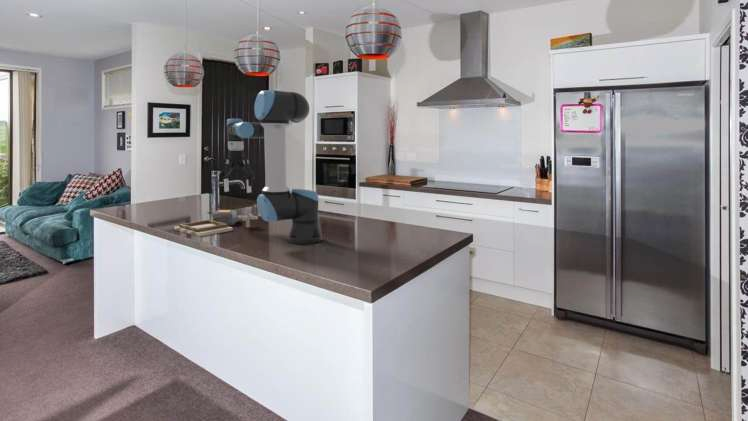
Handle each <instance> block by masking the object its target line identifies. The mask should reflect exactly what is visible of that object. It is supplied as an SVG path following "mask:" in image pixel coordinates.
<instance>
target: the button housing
mask: <svg viewBox="0 0 748 421" xmlns="http://www.w3.org/2000/svg"><path fill="white" fill-rule="evenodd" d="M220 210H221V209H217V210H215V211H214V212H213V213H212V221H217V222H221V223H225V224H227V226H234V225H235V224H237V223H238V221H239V219H238V215H237V214H238V213H237V209H231V210H232V212H230V213H217V212H218V211H220Z"/></svg>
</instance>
